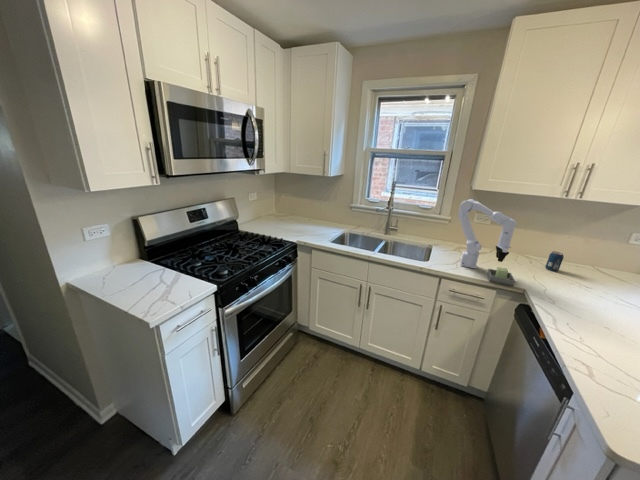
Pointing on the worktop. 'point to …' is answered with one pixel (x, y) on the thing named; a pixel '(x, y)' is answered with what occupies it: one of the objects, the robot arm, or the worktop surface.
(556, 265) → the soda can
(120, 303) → the worktop surface
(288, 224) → the worktop surface
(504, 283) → the bin
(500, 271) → the light green block
